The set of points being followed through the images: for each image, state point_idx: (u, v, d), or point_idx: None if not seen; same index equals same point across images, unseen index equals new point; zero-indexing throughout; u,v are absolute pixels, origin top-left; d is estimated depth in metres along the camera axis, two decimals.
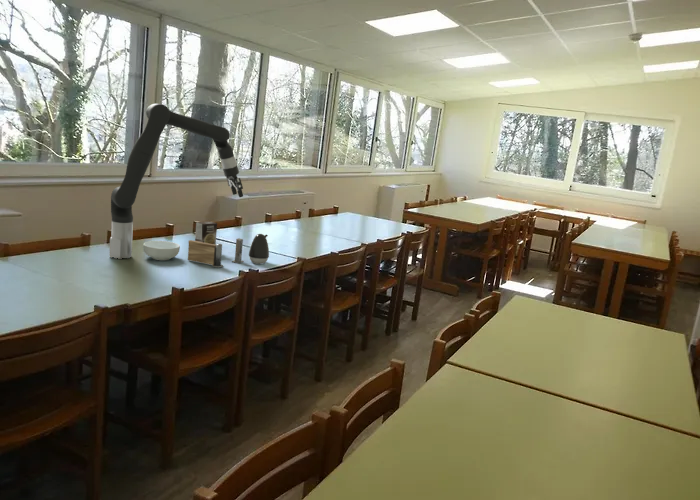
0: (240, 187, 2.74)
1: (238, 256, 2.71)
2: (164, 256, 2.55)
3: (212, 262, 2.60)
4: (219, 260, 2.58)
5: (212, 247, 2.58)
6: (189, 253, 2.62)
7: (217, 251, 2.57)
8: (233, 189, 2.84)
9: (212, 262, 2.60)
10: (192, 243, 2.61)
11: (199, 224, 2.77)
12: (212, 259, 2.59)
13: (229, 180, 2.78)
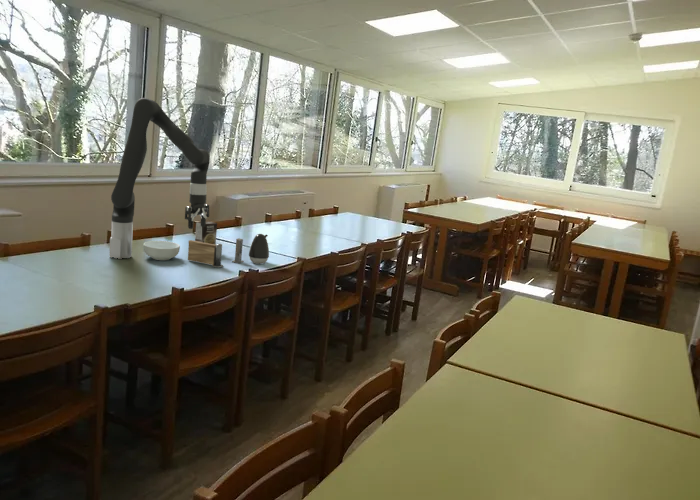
0: (187, 217, 2.44)
1: (238, 256, 2.71)
2: (164, 256, 2.55)
3: (212, 262, 2.60)
4: (219, 260, 2.58)
5: (212, 247, 2.58)
6: (189, 253, 2.62)
7: (217, 251, 2.57)
8: (202, 220, 2.55)
9: (212, 262, 2.60)
10: (192, 243, 2.61)
11: (199, 224, 2.77)
12: (212, 259, 2.59)
13: None
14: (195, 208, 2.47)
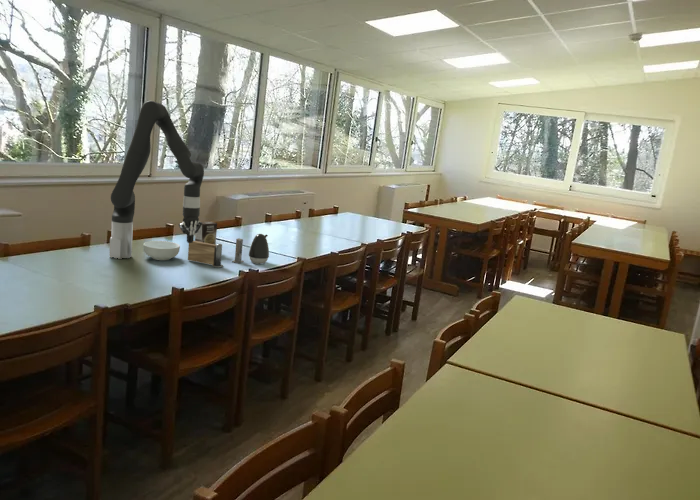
0: None
1: (238, 256, 2.71)
2: (164, 256, 2.55)
3: (212, 262, 2.60)
4: (219, 260, 2.58)
5: (212, 247, 2.58)
6: (189, 253, 2.62)
7: (217, 251, 2.57)
8: None
9: (212, 262, 2.60)
10: (192, 243, 2.61)
11: None
12: (212, 259, 2.59)
13: None
14: (188, 223, 2.46)
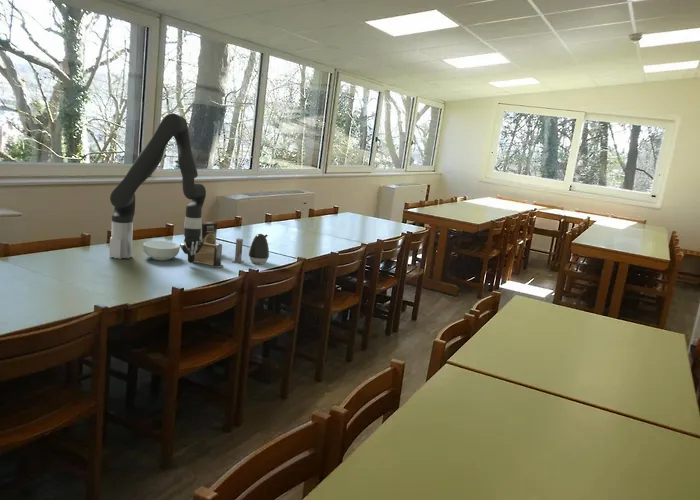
0: None
1: (238, 256, 2.71)
2: (164, 256, 2.55)
3: (212, 262, 2.60)
4: (219, 260, 2.58)
5: (212, 247, 2.58)
6: None
7: (217, 251, 2.57)
8: None
9: (212, 262, 2.60)
10: None
11: None
12: (212, 259, 2.59)
13: None
14: (189, 244, 2.49)
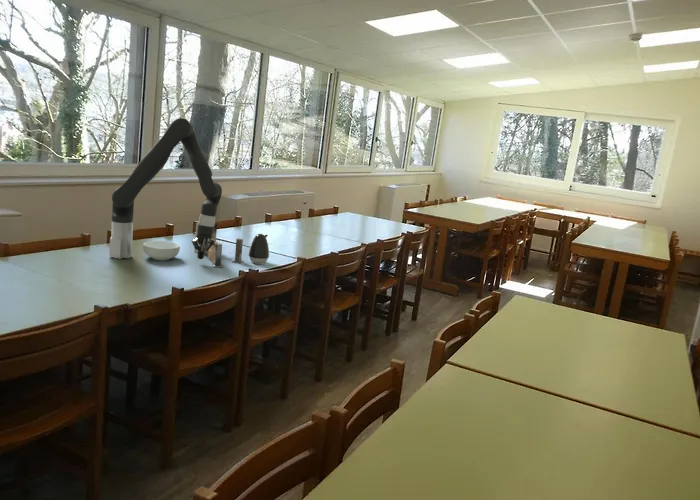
0: None
1: (238, 256, 2.71)
2: (164, 256, 2.55)
3: (214, 261, 2.62)
4: (219, 260, 2.58)
5: (215, 246, 2.60)
6: (208, 250, 2.72)
7: (217, 251, 2.57)
8: None
9: None
10: None
11: None
12: None
13: None
14: (200, 240, 2.56)
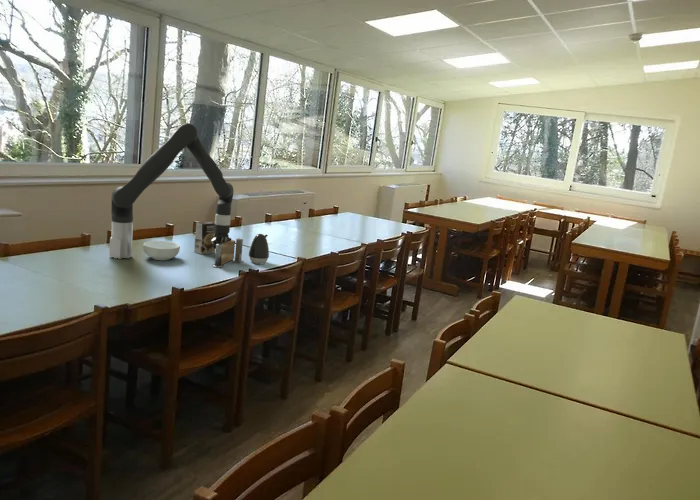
0: None
1: (238, 256, 2.71)
2: (164, 256, 2.55)
3: None
4: (219, 260, 2.58)
5: None
6: None
7: (217, 251, 2.57)
8: None
9: None
10: None
11: (199, 224, 2.77)
12: None
13: None
14: (218, 239, 2.65)
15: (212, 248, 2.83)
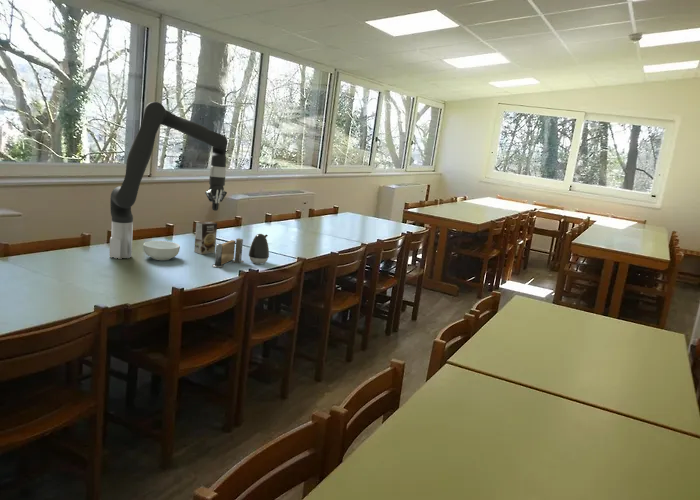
0: None
1: (238, 256, 2.71)
2: (164, 256, 2.55)
3: None
4: (219, 260, 2.58)
5: None
6: None
7: (217, 251, 2.57)
8: None
9: None
10: None
11: (199, 224, 2.77)
12: None
13: None
14: (214, 192, 2.63)
15: (212, 248, 2.83)
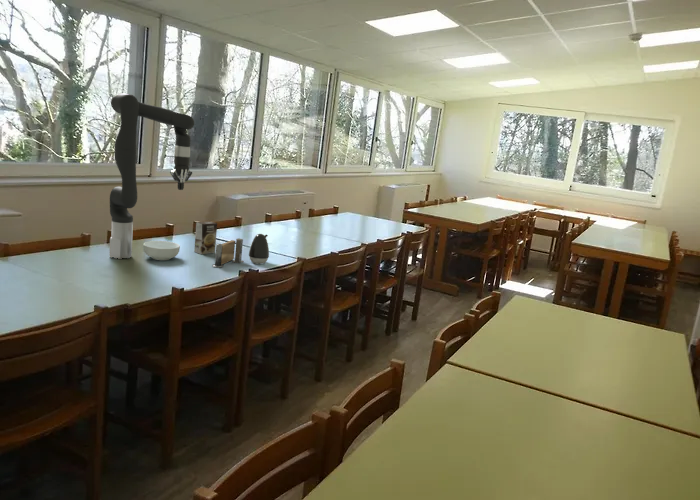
0: None
1: (238, 256, 2.71)
2: (164, 256, 2.55)
3: None
4: (219, 260, 2.58)
5: None
6: None
7: (217, 251, 2.57)
8: None
9: None
10: None
11: (199, 224, 2.77)
12: None
13: None
14: (178, 171, 2.69)
15: (212, 248, 2.83)
